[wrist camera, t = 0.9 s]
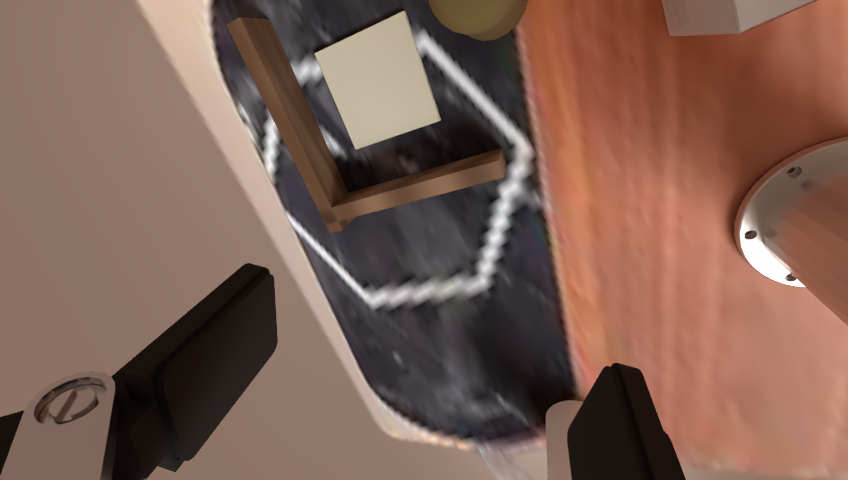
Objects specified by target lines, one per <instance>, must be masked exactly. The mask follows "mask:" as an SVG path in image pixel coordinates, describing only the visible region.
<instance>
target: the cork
mask: <svg viewBox="0 0 848 480" xmlns="http://www.w3.org/2000/svg"><path fill="white" fill-rule="evenodd" d="M428 1H429V4H430V7H431V9H432V12H433V13H434V15H435V16H436V17H437V18H438V20H439V21H440V22H441V24H442V25H444V26H446V27H447V28H449V29H450V30H452V31H453V32H457V33H461V34H466V35H468V36H469V37H471V38H472V39H476V40H481V41H489V40H496V39H498V38H500V37H502V36H504V35H506V34H508V33H509V32H510V31H511V30H512V29H513V28H514V27H515V26H516V25H517V24H518V22H519V21H520V19H521V17H522V15H523V14H524V12H525V9H526V5H527V2H528V0H428Z"/></svg>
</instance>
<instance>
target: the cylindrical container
mask: <svg viewBox="0 0 848 480" xmlns="http://www.w3.org/2000/svg"><path fill="white" fill-rule="evenodd" d="M582 404H583V402H582V401H575V400H568V401H562V402H558V403H556V404H554V405H553V406H551V407H550V408H549V409H548V411H547V413H546V441H547V467H548V480H572V477H571V469H570V461H569V453H568V445H567V432H568V428H569V426H570V424H571V422H572V421H573V419H574V417H575V416H576V414H577V412H578V411H579V409H580V407H581V406H582Z"/></svg>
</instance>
